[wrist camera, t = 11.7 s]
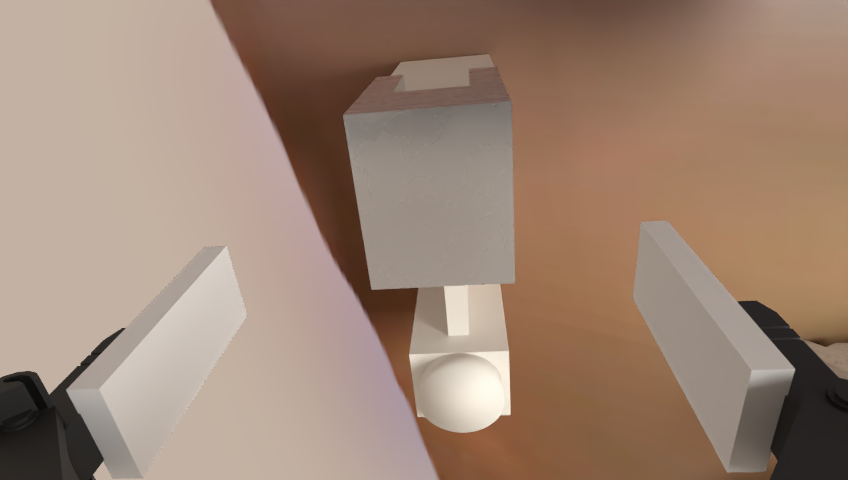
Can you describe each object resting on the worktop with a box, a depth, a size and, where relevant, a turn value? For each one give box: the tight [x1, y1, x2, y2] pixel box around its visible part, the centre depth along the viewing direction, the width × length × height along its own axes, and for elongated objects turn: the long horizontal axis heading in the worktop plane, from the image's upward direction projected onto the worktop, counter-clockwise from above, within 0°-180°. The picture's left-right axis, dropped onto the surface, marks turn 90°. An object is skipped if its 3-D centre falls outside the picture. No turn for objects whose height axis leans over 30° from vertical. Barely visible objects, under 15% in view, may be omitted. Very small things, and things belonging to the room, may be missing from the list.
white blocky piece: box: [391, 54, 511, 433], centre depth 38 cm, size 24×7×18 cm, turn 5°
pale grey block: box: [343, 66, 515, 290], centre depth 25 cm, size 8×6×9 cm
